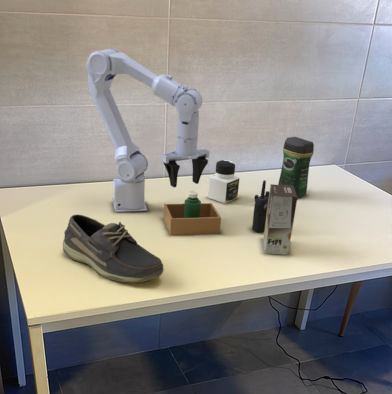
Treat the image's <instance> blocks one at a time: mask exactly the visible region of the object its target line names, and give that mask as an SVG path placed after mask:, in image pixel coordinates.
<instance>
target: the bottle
mask: <svg viewBox="0 0 392 394" xmlns="http://www.w3.org/2000/svg"><path fill="white" fill-rule="evenodd" d="M201 203H202V201H201V200H200V199H199V197H198V192H197V191H189V193H188V197H187V198H186V199H184V203H183V204H184V218H200V210H201Z"/></svg>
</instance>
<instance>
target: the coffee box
mask: <svg viewBox="0 0 392 394" xmlns="http://www.w3.org/2000/svg"><path fill="white" fill-rule="evenodd" d="M298 199H299V198H298V197H297V194H296V191H295V189H294V186H291V185H278V184H272V183H271V184H270V185H269V200H268V207H267V215H266V222H265V230H264V231H263V238H262V242H263V249H264V253H265V254H270V255H272V254H273V255H284V256H285V255H286V256H287V255H288V254H289V251H290V245H291V244H290V243H291V239H292V234H293V228H294V227H293V226H294V221H295V216H296V215H295V214H296V209H297V203H298Z"/></svg>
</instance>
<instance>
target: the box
mask: <svg viewBox="0 0 392 394" xmlns="http://www.w3.org/2000/svg"><path fill="white" fill-rule="evenodd" d="M184 204H185V203H164V204H163V222H164V224H165V226H166V228H167V231H168V233H169V235H170V236H181V235H183V236H184V235H213V234H214V235H215V234H217V235H219V234H221V225H222V217H221V215H220V213H219V212H218V211H217V209H216V207H215V206H214V204H213V203H212V202H203V203H202V202H201V210H200V218H184Z"/></svg>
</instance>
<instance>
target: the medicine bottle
mask: <svg viewBox="0 0 392 394" xmlns="http://www.w3.org/2000/svg"><path fill="white" fill-rule="evenodd" d="M214 173H215V174H214V175H210V176H209V177H208V188H207V189H208V191H207V198H208V199H209V200H212V201H216V202H220V203H223V204H228V203H230V202H232V201H234V200H236V199H238V196H239V188H240V187H239V186H240V180H241V179H240V176H236V175H235V173H236V163H235V162H234V161H232V160H227V159H224V160H219V161H217V162H216V163H215V172H214Z"/></svg>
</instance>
